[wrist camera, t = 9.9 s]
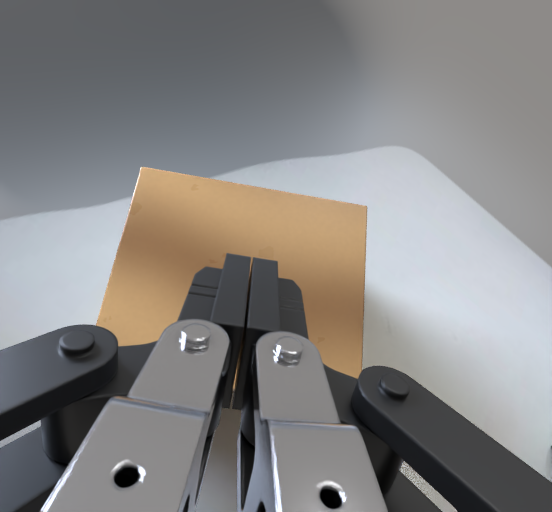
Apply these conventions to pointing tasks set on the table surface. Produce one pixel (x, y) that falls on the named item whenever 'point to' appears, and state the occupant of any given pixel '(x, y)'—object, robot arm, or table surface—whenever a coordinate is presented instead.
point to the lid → (241, 241)
